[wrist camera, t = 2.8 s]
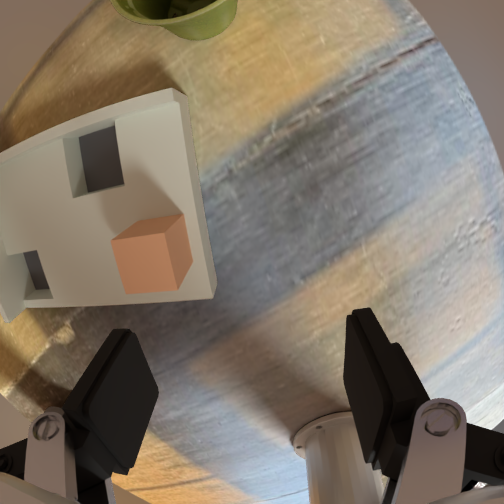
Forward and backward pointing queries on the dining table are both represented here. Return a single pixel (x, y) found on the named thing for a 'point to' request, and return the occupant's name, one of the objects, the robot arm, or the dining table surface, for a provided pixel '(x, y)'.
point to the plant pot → (181, 15)
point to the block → (153, 254)
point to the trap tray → (98, 204)
